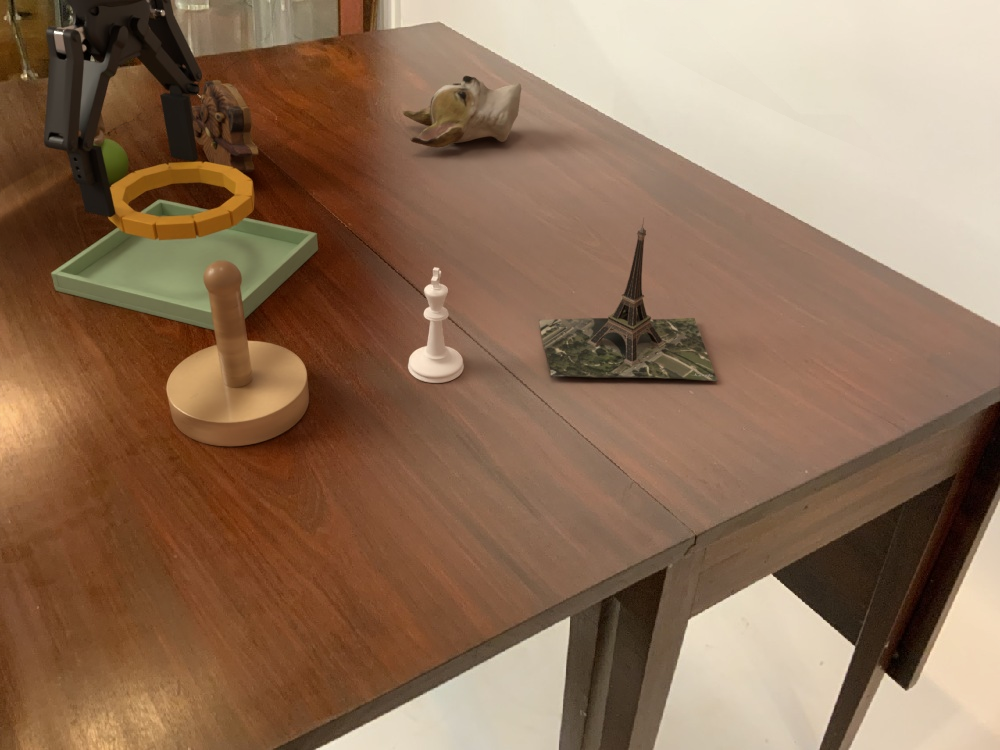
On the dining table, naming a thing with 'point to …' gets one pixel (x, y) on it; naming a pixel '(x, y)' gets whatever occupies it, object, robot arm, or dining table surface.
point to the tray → (184, 266)
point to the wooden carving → (224, 127)
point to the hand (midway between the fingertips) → (145, 184)
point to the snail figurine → (111, 155)
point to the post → (236, 377)
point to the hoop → (186, 224)
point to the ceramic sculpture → (467, 113)
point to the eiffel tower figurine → (627, 340)
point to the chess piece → (435, 341)
